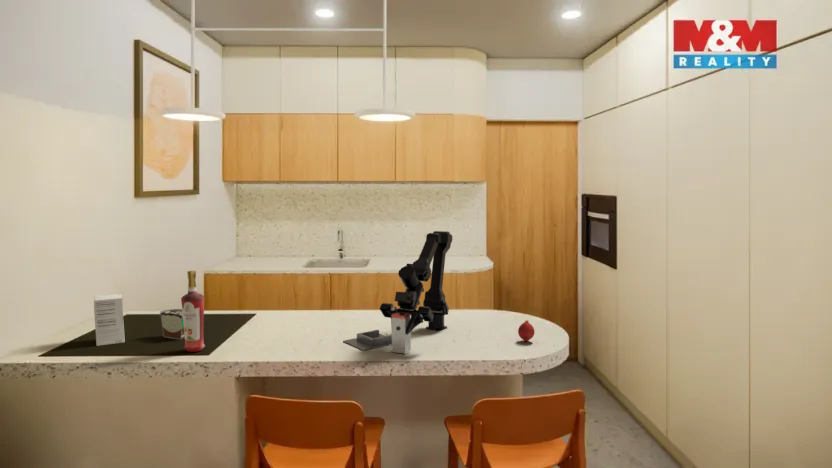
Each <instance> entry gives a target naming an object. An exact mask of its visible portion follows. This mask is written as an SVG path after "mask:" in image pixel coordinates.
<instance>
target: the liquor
mask: <svg viewBox="0 0 832 468" xmlns="http://www.w3.org/2000/svg"><path fill="white" fill-rule="evenodd" d="M186 274H187V279H188V281H187V293H186V294H184V295H183V296H182V297H181V298H180V299H181V309H182V314H183V322H184V334H185V338H184V347H183V349H184V350H185V351H186V352H188V353H197V352H198V353H199V352H201V351H202V350H203V349H204V348H205V347H206V345H205V341H204V339H205V337H204V316H205V315H204V314H205V307H204V306H205V296H204V295H202V293H199V292H198V291H197V289H198V288H197V283H196V277H197V272H196V270H187V273H186Z"/></svg>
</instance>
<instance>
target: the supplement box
mask: <svg viewBox="0 0 832 468" xmlns="http://www.w3.org/2000/svg"><path fill="white" fill-rule="evenodd" d="M93 310H94V311H93V313H94V314H93V315H94V328H95V329H94V330H95V342H96V343H95V344H96V346H97V347H98V346H106V345H113V344H122V343H125V342H126V341H125V325H124V323H125V322H124V303H123V295H122V293H115V294H104V295H103V294H102V295H100V294H99V295H94V296H93Z"/></svg>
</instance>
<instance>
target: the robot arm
mask: <svg viewBox="0 0 832 468" xmlns="http://www.w3.org/2000/svg"><path fill="white" fill-rule="evenodd" d="M425 237H426V238H425V239H426V240H425V242H424V244H423V246H422V249H421V252H420V254H419V257H418V259H416V260H415V261H413V262H412V263H406V265H405V266H403V267H401V268H400V269H399V270H398V276H399V279H400V281H401V283H402V285H403V286H404V287H405V290H404V291H396V292H395V296H394V302H396V304H397V306H398V307H396V306H394V304H393V303H389V302H383V303H381V304H380V306H379V310H380V312H381V314H382V315H383V317H384V318H390V325H391V328H390V329H391V330H392V314H394V313H396V312H404V313H410V322H409V324H408V327H407V330H406V334H407V335H408V334H409V333H410V332H412V331H413V330H414V329H416V327H418V326H419V325H420V324H423V323H424V322H428V326H426V327H425V329H427V330H432V331H436V332H439V331H442V330H445V329H448V326H445V315H446V316H447V315H449V309H450V308H449V305H448V303H447V301H446V295H445V293H444V290H443V284H444V273H445V271H444V270H445V262H446V254H447V253H448V251H449V250H450V248H451V246H452V243H453V234H451V232H450V231H448V230H446V231H443V230H442V231H441V230H436V231H435V230H433V232H428V233H426V236H425ZM431 263H432V265H431ZM431 266H432V268H431ZM429 280H430V287H429V289H428V290H427V291H425V288H424V284H423V283H422V282H428V281H429ZM423 292H425V293H424V299H423V305H420V303H421V301H420V298H421V296H422V293H423ZM418 305H420V306H419V307H418Z"/></svg>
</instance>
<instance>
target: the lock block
mask: <svg viewBox="0 0 832 468" xmlns="http://www.w3.org/2000/svg"><path fill="white" fill-rule="evenodd" d="M410 319H411V315H410V313H404V312H396V313H394V314H392V329H391V335H392V345H391V352H392V353H398V354H407V353H409V352H411V350H412V349H411V348H412V347H411V345H412V343H411V339H412V338H411V337H412V336H411V332H412V331H411V332H410V333H409V334H408V335H407V334H406V330H407V327H408V324H409V322H410Z"/></svg>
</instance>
